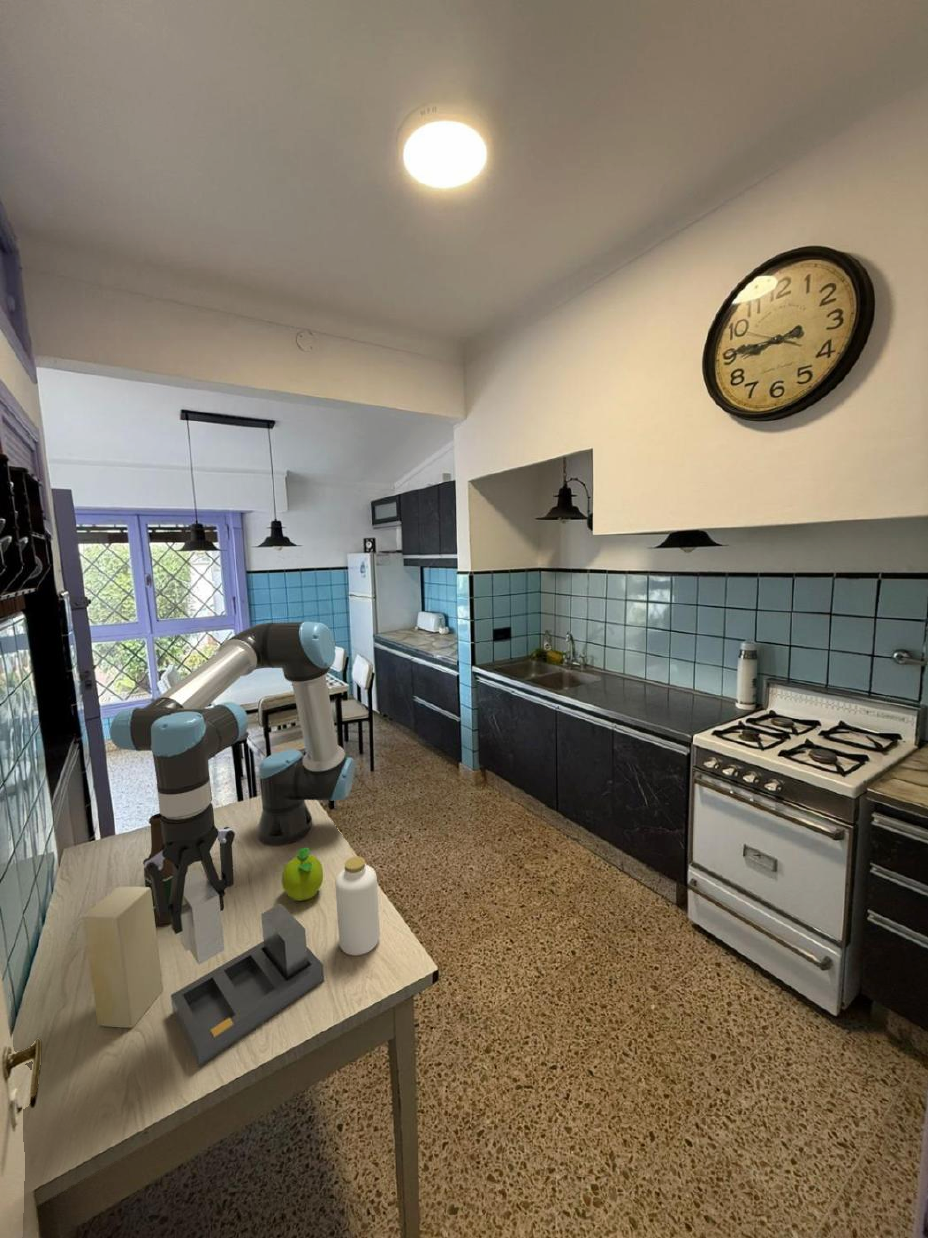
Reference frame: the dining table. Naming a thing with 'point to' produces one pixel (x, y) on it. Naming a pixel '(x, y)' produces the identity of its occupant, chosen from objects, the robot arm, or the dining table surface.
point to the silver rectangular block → (202, 917)
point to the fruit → (302, 876)
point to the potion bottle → (357, 907)
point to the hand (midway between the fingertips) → (200, 937)
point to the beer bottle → (166, 869)
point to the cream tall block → (123, 956)
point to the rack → (247, 988)
